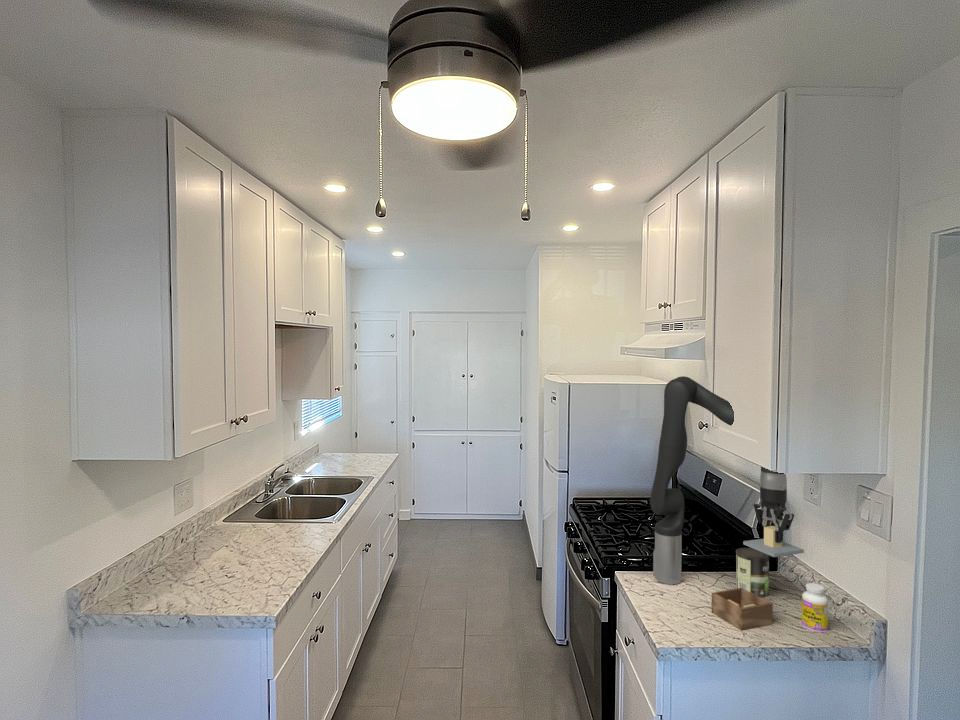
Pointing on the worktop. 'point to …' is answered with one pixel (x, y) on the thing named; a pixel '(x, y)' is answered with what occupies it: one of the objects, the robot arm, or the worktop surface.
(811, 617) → the supplement bottle
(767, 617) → the box
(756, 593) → the coffee can
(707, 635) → the worktop surface
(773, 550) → the lid
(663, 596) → the worktop surface
